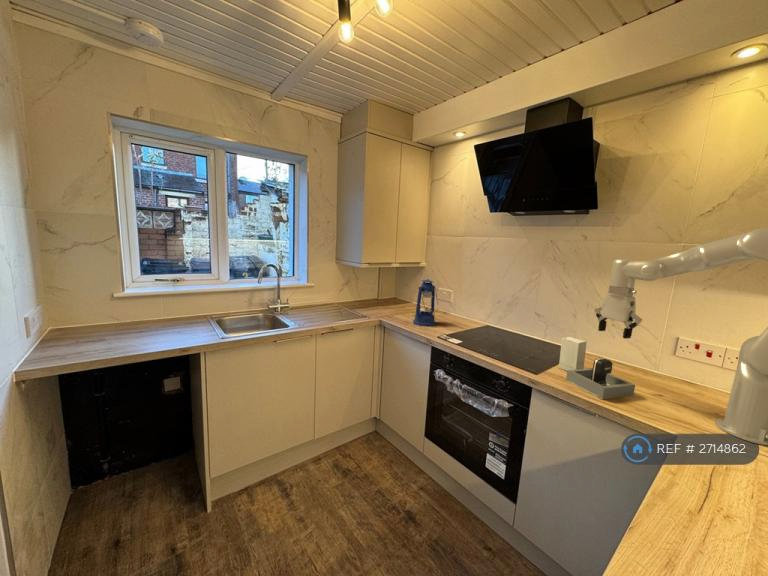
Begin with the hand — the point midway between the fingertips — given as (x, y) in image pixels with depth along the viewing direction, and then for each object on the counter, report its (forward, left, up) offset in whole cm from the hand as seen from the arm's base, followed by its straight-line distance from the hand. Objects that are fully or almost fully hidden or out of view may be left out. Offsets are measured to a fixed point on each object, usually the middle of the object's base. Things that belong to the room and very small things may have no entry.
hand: (613, 334), depth 120 cm
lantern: (+99, +35, -23) cm, 107 cm away
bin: (+1, +2, -23) cm, 23 cm away
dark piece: (0, +2, -22) cm, 22 cm away
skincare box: (+17, -1, -23) cm, 28 cm away
